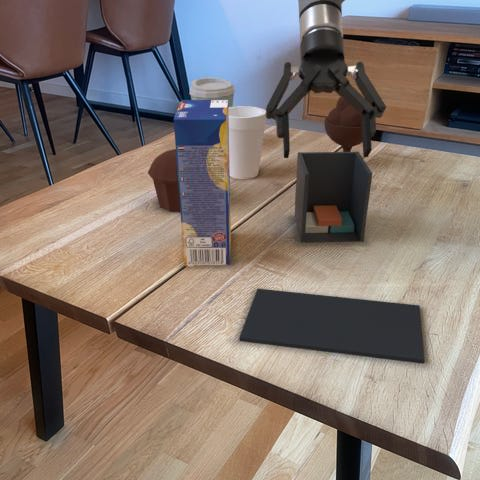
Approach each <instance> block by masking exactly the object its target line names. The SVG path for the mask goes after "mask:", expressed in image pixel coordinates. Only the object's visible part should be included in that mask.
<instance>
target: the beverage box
mask: <svg viewBox="0 0 480 480" xmlns="http://www.w3.org/2000/svg"><path fill="white" fill-rule="evenodd" d="M173 129H174V131H173V132H174V142H175V143H174V144H175V149H176V158H177V171H178V185H179V198H180V212H179V213H180V223H181V224H180V225H181V237H182V251H183V265H184V268H185V267H190V268H191V267H192V268H193V267H194V266H204V265H205V266H217V265H218V266H221V265H222V266H225V265H226V266H227V265H228V266H229V265H230V260H231V239H232V229H231V228H232V226H231V225H232V224H231V222H232V221H231V179H230V178H231V177H230V168H229V119H228V100H192V99H181V100H180V102H179V105H178V107H177V110H176V112H175V115H174V117H173Z"/></svg>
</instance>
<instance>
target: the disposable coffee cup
mask: <svg viewBox="0 0 480 480" xmlns="http://www.w3.org/2000/svg"><path fill="white" fill-rule="evenodd" d="M235 92H236V89H235V86H234V84H233V82H232V81H229V80H228V79H225V78H220V77H209V76H208V77H207V76H206V77H201V78H200V77H199V78H196V79H194V80H191V85H190V87H189V95H190V96H191V100H228V108H229V107H234V106H233V105H234V96H235Z"/></svg>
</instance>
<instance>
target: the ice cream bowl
mask: <svg viewBox="0 0 480 480" xmlns="http://www.w3.org/2000/svg"><path fill="white" fill-rule="evenodd" d="M362 119H363V117H362V116H361V115H360V114H359V113H358V112H357V111H356V110H355V109H354V108H353V107H352V106H351V105H350V104H349V103H348V102H347V101H346V100H345V99H344V98H343V97H342V96H339V98H338V99H337V101H336V104H335V107H334V108H332V109H331V110H330V111H329V113H328V115H327V117H325V118H324V122H323V123H324V130H325V133H326V135H327V136H328V137H329V139H330V140H331V141H333V142H334V144H337V145H339V146H341V148H342V152H352V151H351V150H352V148H353V147H356V146H359V145H361V144H363V141H362V125H361V122H362Z"/></svg>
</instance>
